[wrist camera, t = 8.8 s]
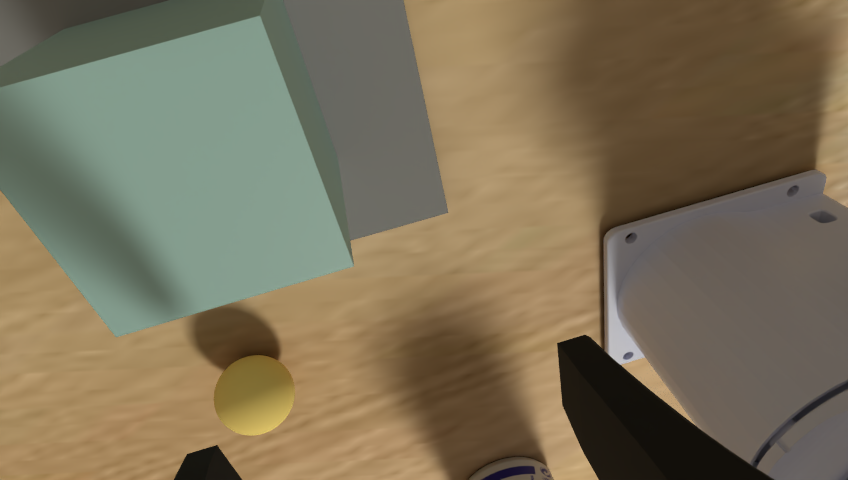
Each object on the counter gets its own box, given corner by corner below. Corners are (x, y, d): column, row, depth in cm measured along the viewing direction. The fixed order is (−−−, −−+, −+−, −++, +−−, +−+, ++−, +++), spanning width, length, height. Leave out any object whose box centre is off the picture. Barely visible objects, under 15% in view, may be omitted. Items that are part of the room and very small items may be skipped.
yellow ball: (279, 330, 21) (277, 388, 19) (304, 379, 23) (305, 438, 20) (206, 352, 21) (194, 412, 19) (236, 399, 23) (229, 461, 20)
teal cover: (273, -29, 14) (260, 16, 9) (337, 159, 17) (353, 266, 12) (63, 28, 14) (-66, 106, 9) (168, 208, 17) (116, 337, 12)
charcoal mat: (355, -213, 13) (357, -217, 12) (445, 205, 20) (448, 212, 19) (-152, -89, 12) (-168, -89, 12) (122, 297, 19) (118, 306, 19)
